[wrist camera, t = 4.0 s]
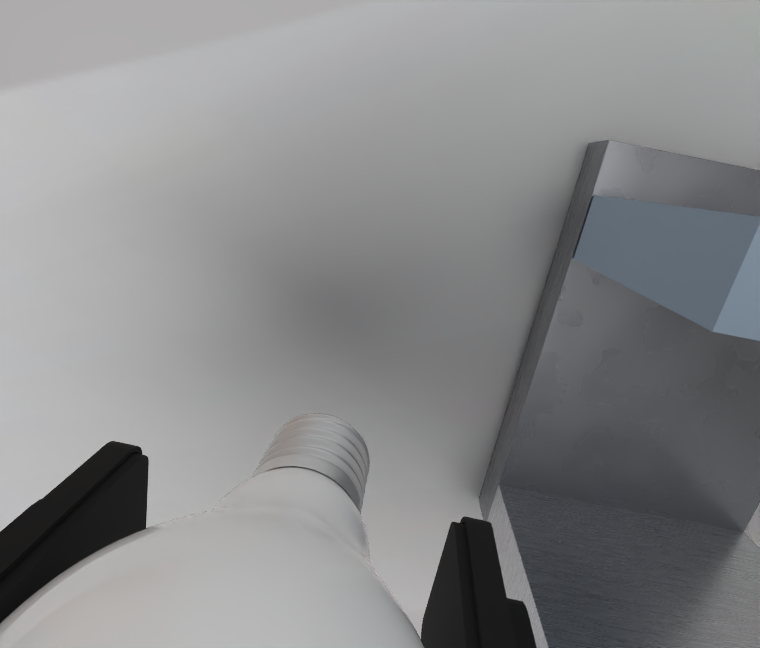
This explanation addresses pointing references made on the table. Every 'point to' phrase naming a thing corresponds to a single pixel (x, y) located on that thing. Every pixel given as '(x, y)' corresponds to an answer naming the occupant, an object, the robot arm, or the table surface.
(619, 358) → the vise base
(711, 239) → the vise jaw
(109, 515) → the robot arm
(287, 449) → the lightbulb
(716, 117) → the table surface
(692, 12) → the table surface
